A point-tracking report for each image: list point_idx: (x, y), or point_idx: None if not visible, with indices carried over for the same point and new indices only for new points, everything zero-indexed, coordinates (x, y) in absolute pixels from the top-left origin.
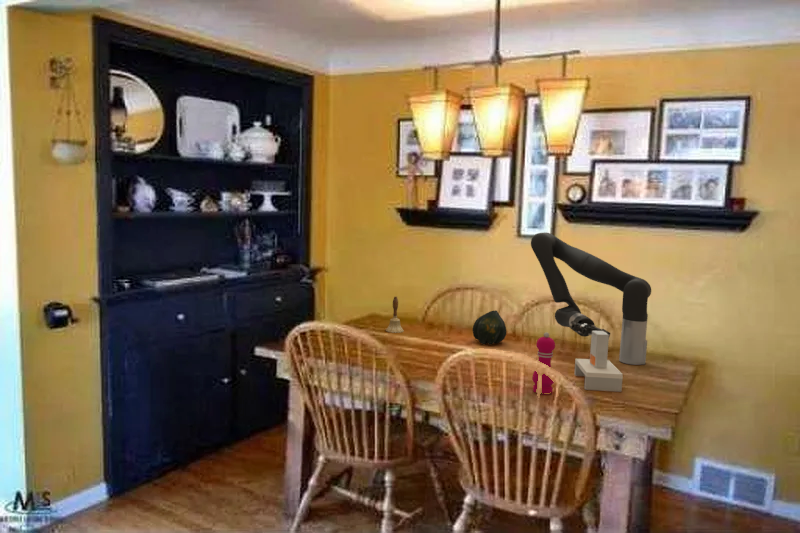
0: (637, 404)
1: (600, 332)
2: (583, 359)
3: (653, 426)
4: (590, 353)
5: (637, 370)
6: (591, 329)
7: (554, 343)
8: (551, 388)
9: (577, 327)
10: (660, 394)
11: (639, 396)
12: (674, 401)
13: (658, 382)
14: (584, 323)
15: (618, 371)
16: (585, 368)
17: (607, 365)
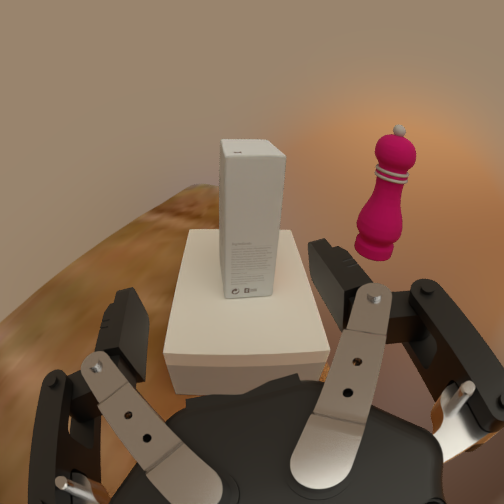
0: (192, 225)
1: (249, 146)
2: (292, 344)
3: (208, 185)
4: (275, 257)
5: (17, 466)
6: (237, 402)
7: (377, 142)
8: (357, 235)
9: (400, 298)
10: (105, 267)
11: (163, 253)
12: (107, 242)
13: (38, 341)
14: (356, 426)
15: (190, 244)
16: (291, 252)
17: (203, 286)
